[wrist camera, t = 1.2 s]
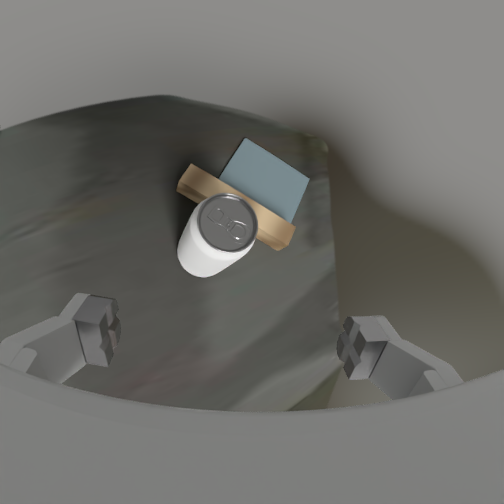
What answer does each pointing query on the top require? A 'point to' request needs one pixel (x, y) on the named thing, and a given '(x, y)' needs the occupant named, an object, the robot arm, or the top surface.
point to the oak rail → (269, 224)
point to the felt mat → (265, 179)
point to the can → (217, 234)
